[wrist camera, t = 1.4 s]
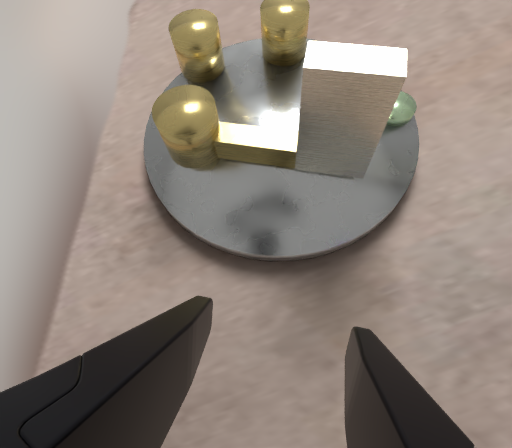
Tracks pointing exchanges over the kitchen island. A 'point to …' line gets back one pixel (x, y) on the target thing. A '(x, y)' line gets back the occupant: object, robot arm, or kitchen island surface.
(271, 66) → the base
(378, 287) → the kitchen island surface
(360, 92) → the lever
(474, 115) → the kitchen island surface
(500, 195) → the kitchen island surface
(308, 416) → the kitchen island surface
